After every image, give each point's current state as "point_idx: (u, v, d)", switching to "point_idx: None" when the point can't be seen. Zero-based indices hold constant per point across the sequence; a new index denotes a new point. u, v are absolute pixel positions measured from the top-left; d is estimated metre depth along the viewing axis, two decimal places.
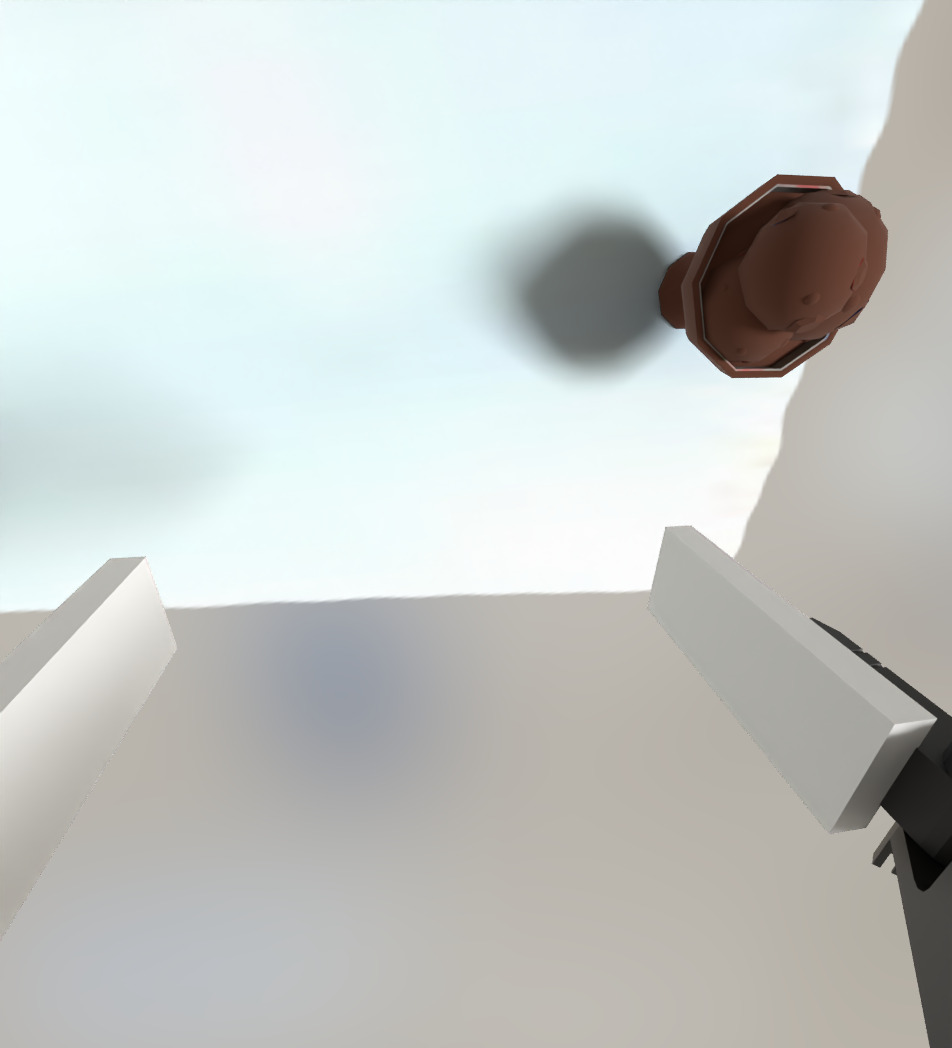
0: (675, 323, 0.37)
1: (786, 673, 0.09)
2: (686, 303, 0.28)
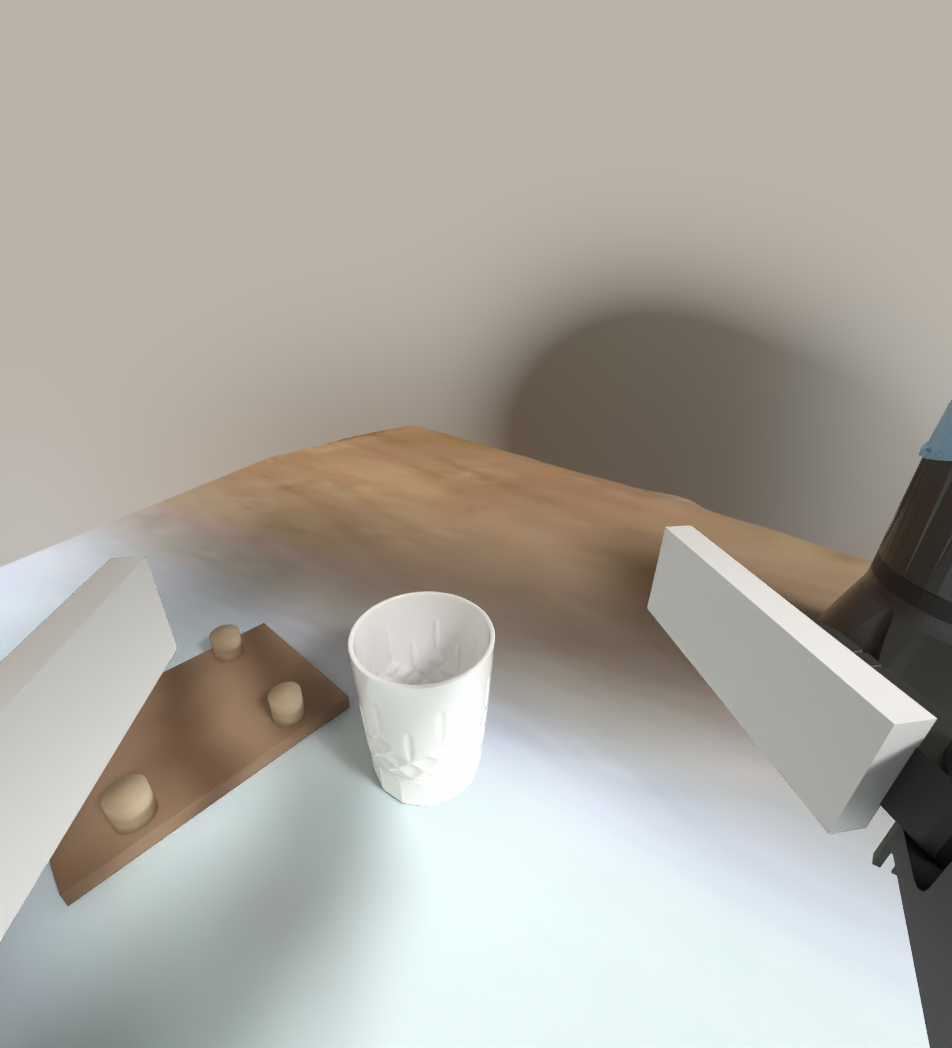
0: None
1: (785, 673, 0.09)
2: None
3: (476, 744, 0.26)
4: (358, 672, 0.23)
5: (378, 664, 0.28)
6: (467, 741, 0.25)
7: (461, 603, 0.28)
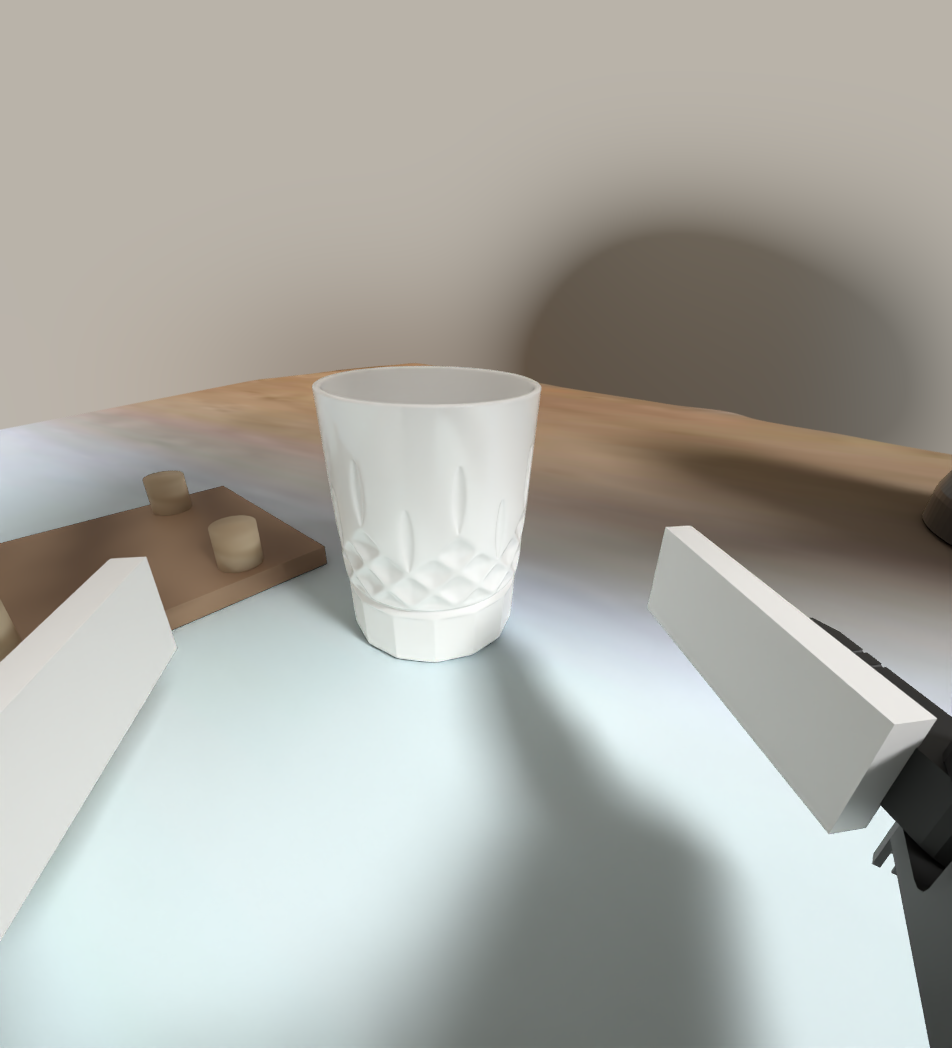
0: None
1: (785, 673, 0.09)
2: None
3: (509, 566, 0.17)
4: (325, 406, 0.14)
5: None
6: (497, 549, 0.16)
7: (484, 377, 0.19)
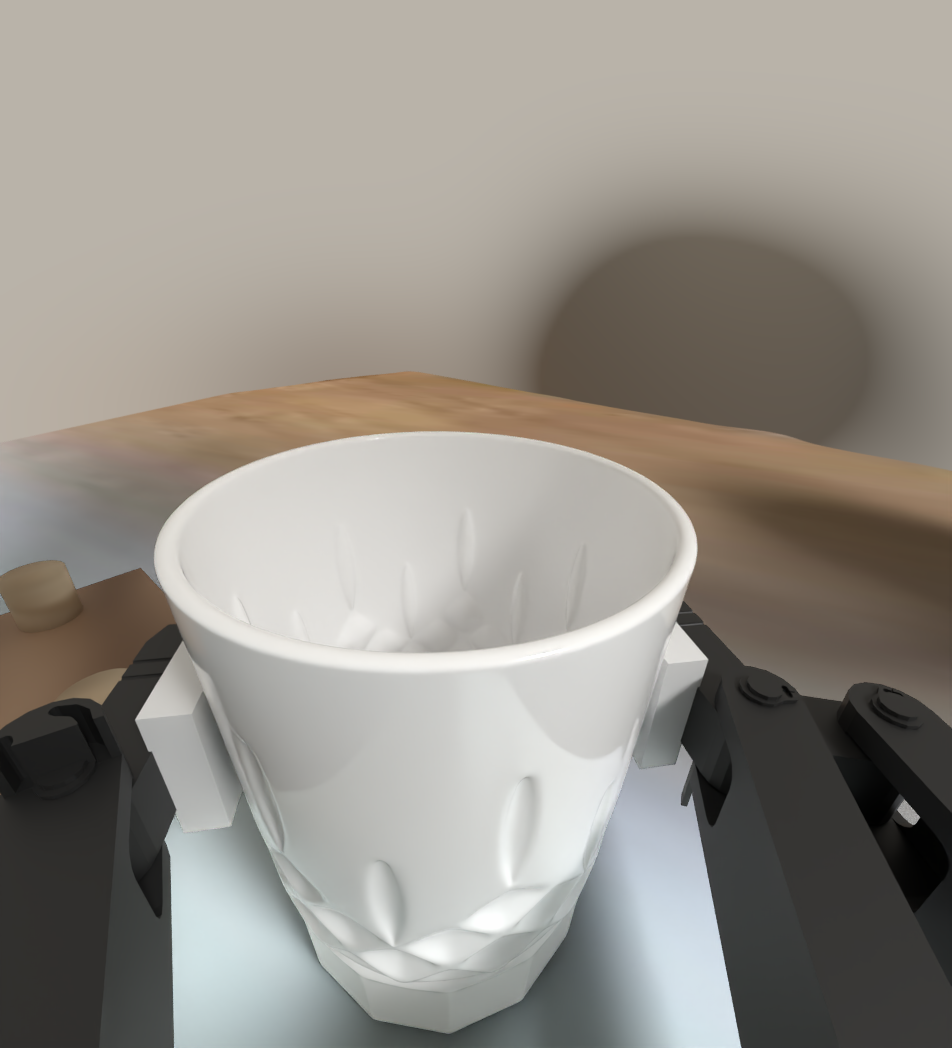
0: None
1: None
2: None
3: (597, 852, 0.09)
4: None
5: (317, 618, 0.11)
6: (586, 857, 0.08)
7: (536, 455, 0.10)
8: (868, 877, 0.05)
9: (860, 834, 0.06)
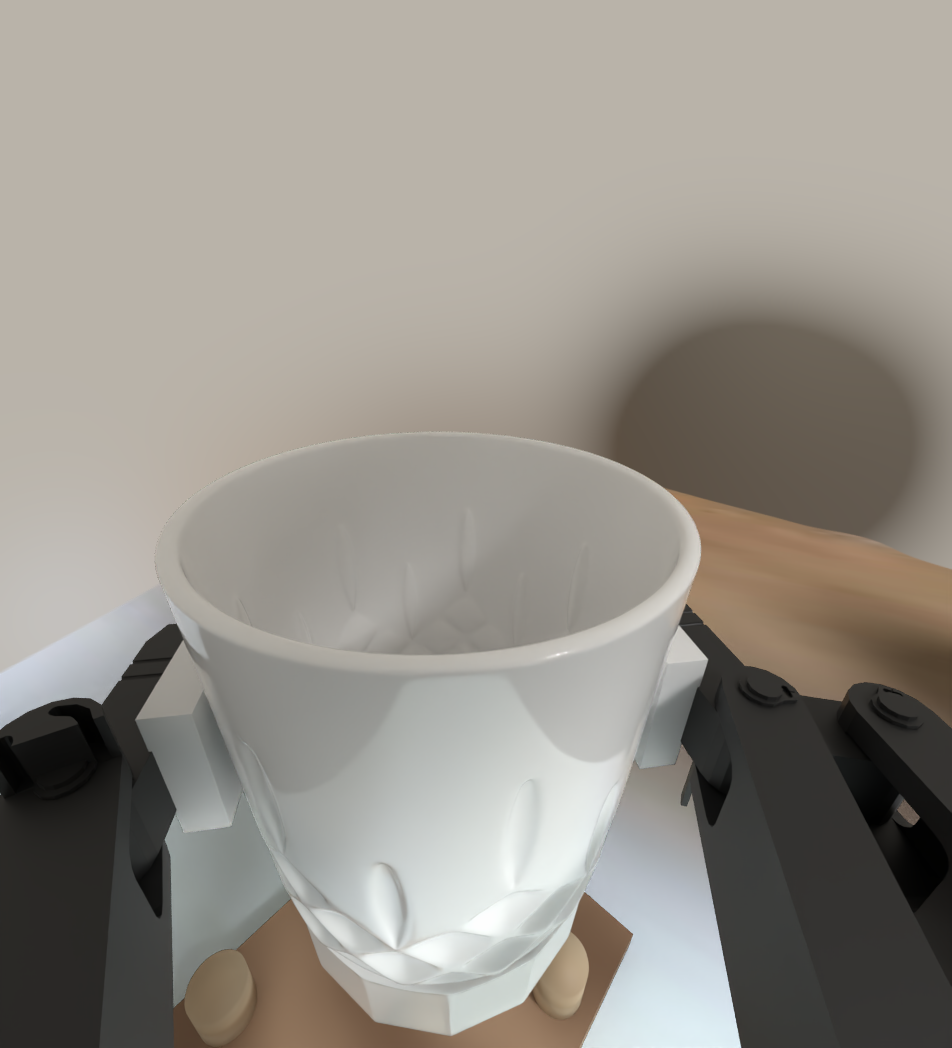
0: None
1: None
2: None
3: (600, 854, 0.09)
4: (170, 607, 0.05)
5: (318, 619, 0.11)
6: (588, 860, 0.08)
7: (538, 456, 0.10)
8: (868, 877, 0.05)
9: (860, 834, 0.06)
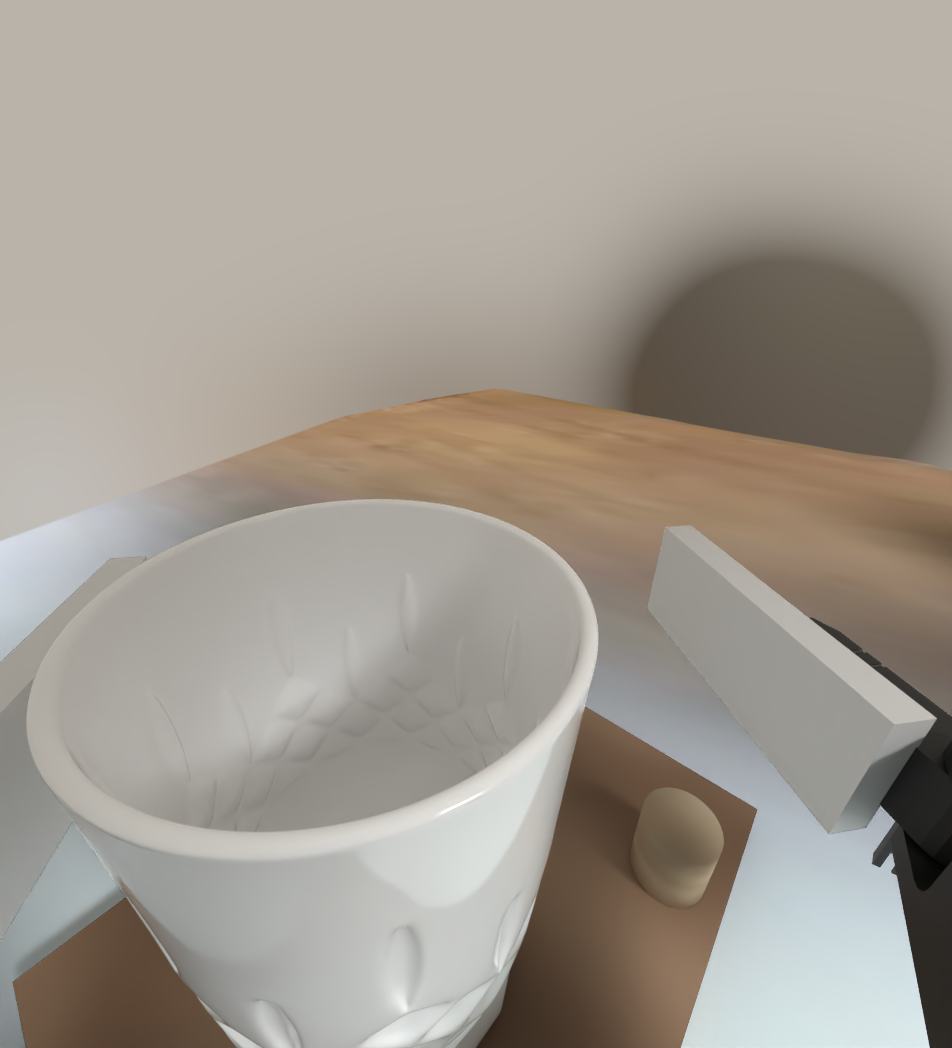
0: None
1: (785, 673, 0.09)
2: None
3: (521, 941, 0.09)
4: None
5: (250, 690, 0.11)
6: (499, 960, 0.07)
7: (472, 527, 0.10)
8: None
9: None
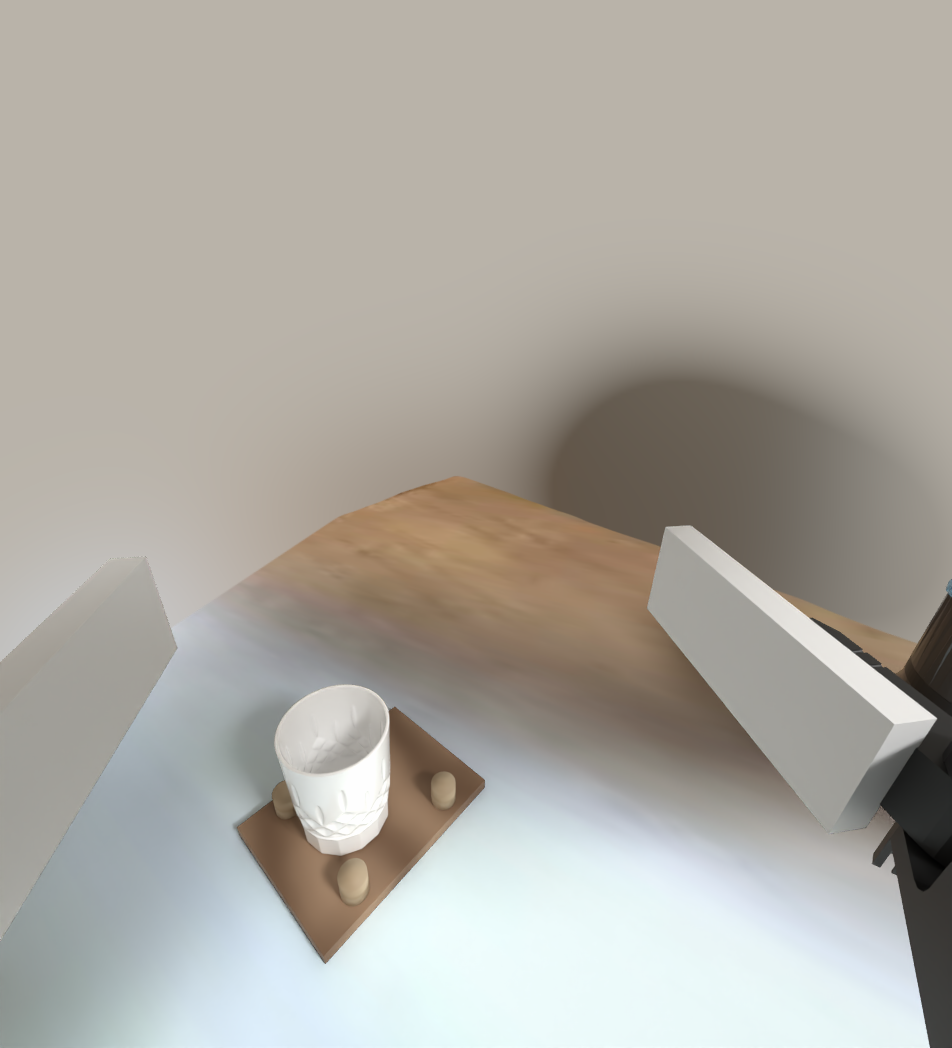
0: None
1: (785, 673, 0.09)
2: None
3: (377, 807, 0.34)
4: (279, 762, 0.31)
5: (306, 742, 0.36)
6: (367, 807, 0.33)
7: (369, 695, 0.36)
8: None
9: None
